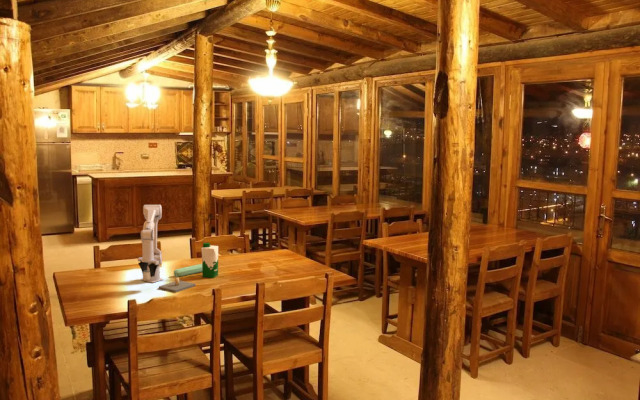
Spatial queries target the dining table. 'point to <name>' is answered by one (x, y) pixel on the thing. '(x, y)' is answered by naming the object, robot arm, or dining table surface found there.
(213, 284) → the dining table surface
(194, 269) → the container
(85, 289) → the dining table surface
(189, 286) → the shaft stand
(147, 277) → the hub ring
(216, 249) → the milk carton
